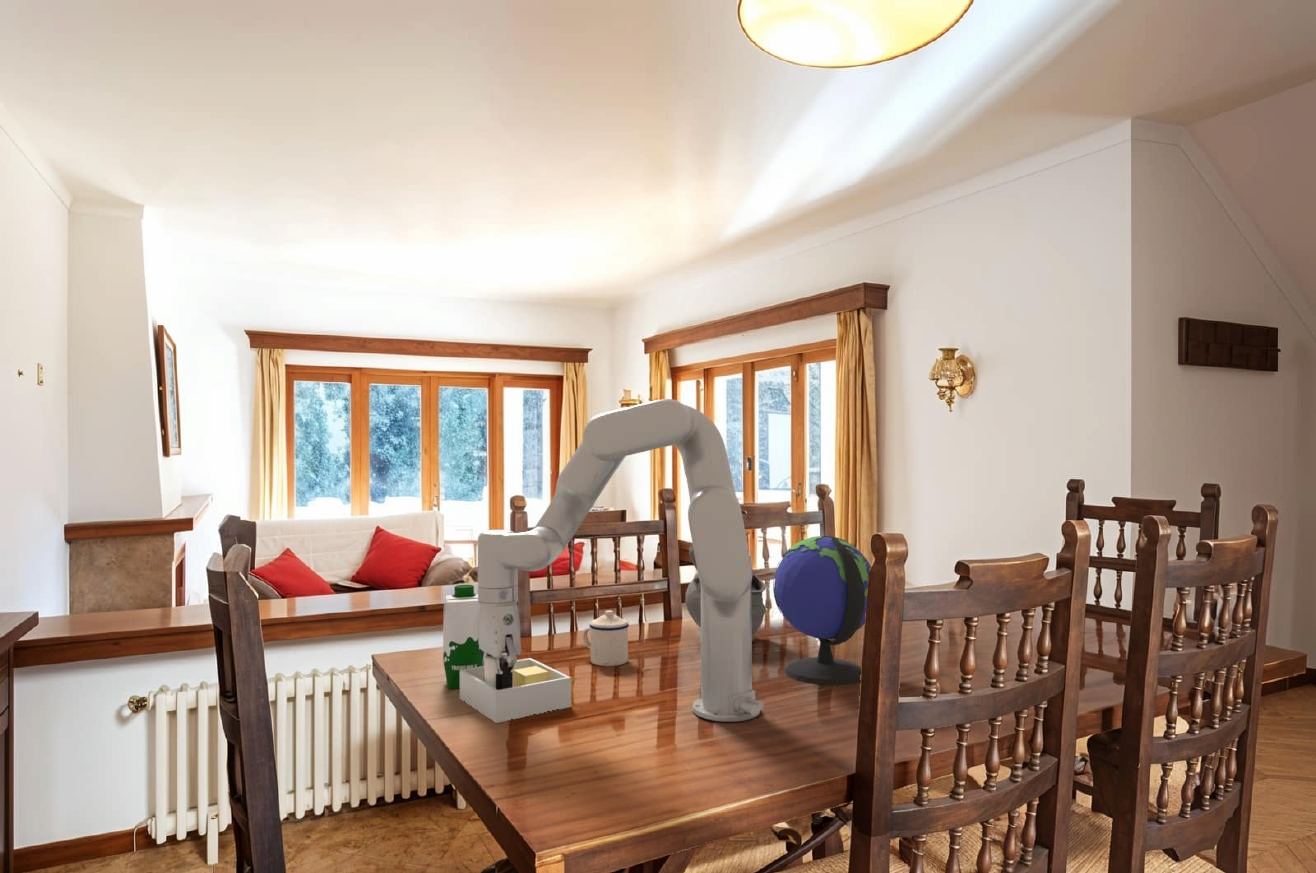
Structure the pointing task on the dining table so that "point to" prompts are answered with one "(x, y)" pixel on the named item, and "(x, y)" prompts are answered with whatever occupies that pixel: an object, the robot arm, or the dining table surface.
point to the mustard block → (529, 676)
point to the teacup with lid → (608, 640)
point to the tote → (515, 693)
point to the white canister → (491, 670)
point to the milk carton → (461, 634)
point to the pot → (695, 598)
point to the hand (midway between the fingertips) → (497, 689)
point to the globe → (823, 603)
